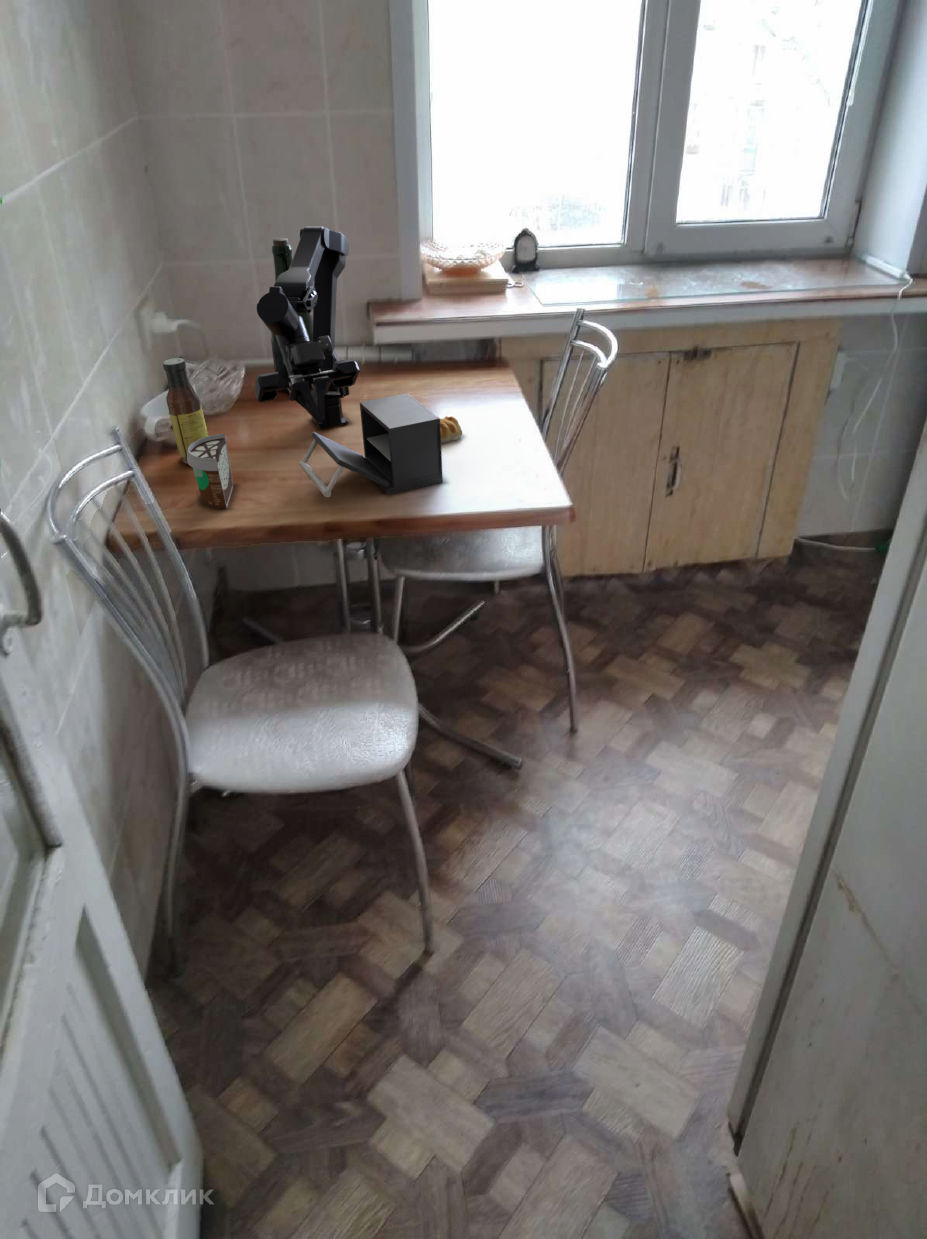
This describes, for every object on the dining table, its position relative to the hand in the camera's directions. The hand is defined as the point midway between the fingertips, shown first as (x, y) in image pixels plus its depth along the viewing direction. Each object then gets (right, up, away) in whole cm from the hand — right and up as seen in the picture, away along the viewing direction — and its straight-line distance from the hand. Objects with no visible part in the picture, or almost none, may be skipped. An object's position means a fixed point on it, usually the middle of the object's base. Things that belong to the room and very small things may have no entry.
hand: (321, 422), depth 164 cm
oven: (+14, -8, +8) cm, 18 cm away
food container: (-20, -14, +1) cm, 24 cm away
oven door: (+7, -10, +6) cm, 14 cm away
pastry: (+21, +1, +22) cm, 30 cm away
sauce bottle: (-27, -4, +16) cm, 32 cm away
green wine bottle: (-13, +19, +50) cm, 55 cm away
